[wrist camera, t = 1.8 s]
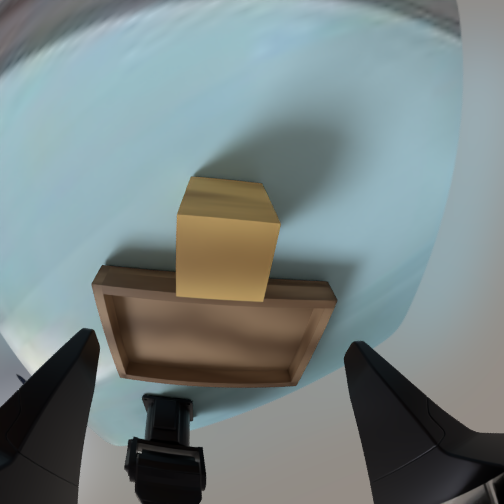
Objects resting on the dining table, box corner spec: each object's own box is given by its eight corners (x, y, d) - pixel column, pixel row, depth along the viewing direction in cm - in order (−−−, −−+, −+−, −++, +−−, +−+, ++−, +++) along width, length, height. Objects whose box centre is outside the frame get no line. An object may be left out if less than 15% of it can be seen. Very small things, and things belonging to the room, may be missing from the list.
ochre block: (251, 244, 19) (262, 301, 14) (187, 239, 19) (176, 296, 13) (262, 183, 17) (281, 223, 12) (191, 176, 16) (177, 214, 11)
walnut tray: (291, 368, 28) (296, 385, 26) (124, 359, 25) (120, 377, 23) (327, 281, 22) (337, 300, 20) (102, 265, 19) (91, 283, 17)
